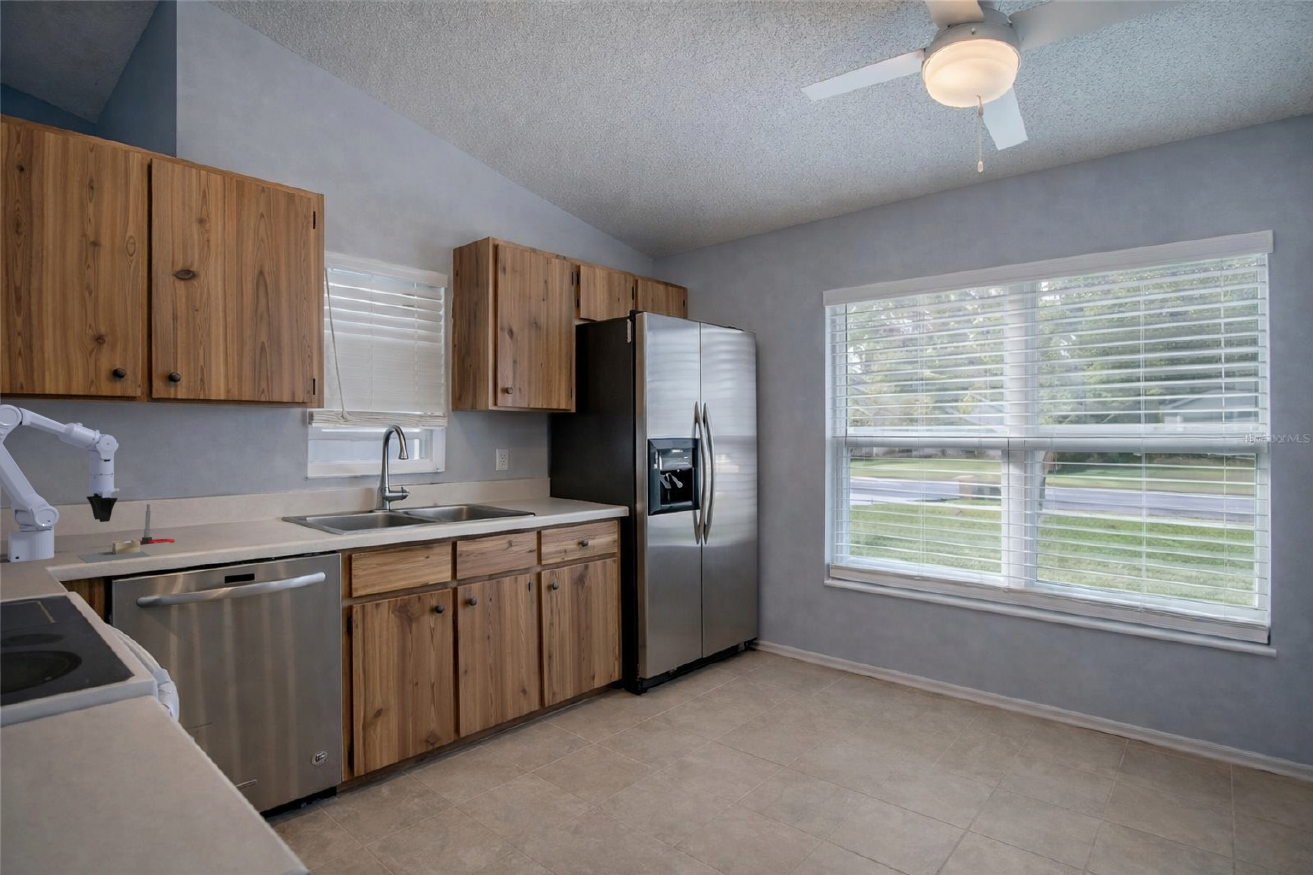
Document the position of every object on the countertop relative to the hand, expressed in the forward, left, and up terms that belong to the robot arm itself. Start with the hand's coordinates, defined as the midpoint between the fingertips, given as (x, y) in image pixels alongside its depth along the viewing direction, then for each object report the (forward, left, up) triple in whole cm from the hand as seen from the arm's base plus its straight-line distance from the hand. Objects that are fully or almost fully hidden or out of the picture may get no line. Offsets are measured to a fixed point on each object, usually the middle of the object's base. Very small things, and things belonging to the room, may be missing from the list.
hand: (102, 520), depth 204 cm
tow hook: (+15, +7, -10) cm, 19 cm away
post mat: (0, -16, -9) cm, 19 cm away
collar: (+4, -12, -8) cm, 15 cm away
